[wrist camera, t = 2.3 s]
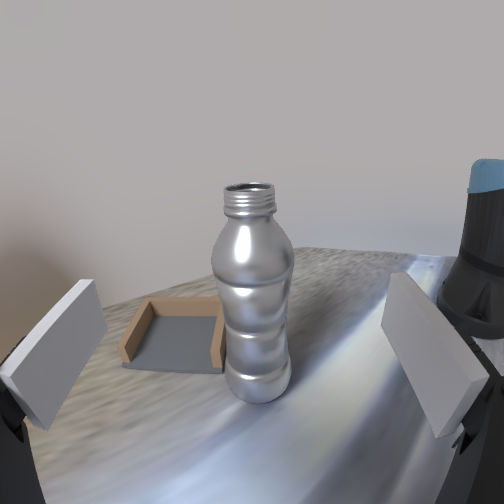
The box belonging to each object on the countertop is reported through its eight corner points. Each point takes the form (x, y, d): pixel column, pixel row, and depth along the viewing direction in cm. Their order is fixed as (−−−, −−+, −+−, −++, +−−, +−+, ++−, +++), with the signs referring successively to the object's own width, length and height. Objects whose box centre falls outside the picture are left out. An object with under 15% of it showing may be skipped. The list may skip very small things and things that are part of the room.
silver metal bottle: (216, 402, 27) (183, 196, 19) (242, 360, 33) (227, 178, 25) (279, 418, 25) (279, 199, 17) (297, 371, 30) (303, 180, 23)
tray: (230, 312, 42) (229, 294, 40) (222, 373, 31) (219, 354, 29) (150, 312, 42) (146, 295, 41) (122, 367, 31) (115, 348, 30)
